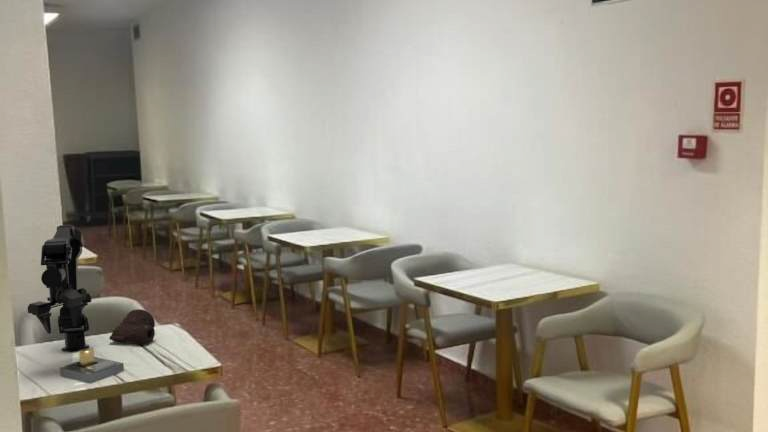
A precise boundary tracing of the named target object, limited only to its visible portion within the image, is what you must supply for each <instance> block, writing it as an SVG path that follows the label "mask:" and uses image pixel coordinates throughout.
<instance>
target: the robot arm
mask: <svg viewBox="0 0 768 432" xmlns="http://www.w3.org/2000/svg"><path fill="white" fill-rule="evenodd" d="M84 247H85V238H84V235H83V231H80V230H78V229H77V228H75V226H74V225H72V224H66V225H65V224H63V225H62V224H61V225H59V226H57V227H56V232H55V234H54V235H53V237H52V238H50V239H47V240H46V241H44V243H43V245H42V246H41V255H40V256H41V259H40V266H46V269H45V270H44V271H43V272H42V274H41V277H40V278H41V283H42V284H43V285H44V286H45V287H46V289H48V290H49V297H46V299H47V302H45V301H35V302H30V303H29V304H28V305H27V313H28V314H31V315H33V316H35V317H36V318H37V319H38V321H39V322H40V323H41V325H42V327H43V328H44V330H45V331H46V333H47V334H51V333H52V326H51V316H52V312H50V311H51V310H52V309H54V308H58V307H60V309H59V315H58V316H57V324H58V325H57V326H58V332H59V334H60V335H61V334H64V345H65V346H64V347H61V351H65V352H66V351H67V352H69V353H70V352H71V353H75V352H79V351H80V350H82V349H87V348H90V346H89V345H86V337H85V332H86V333H87V332H88V331H90V323H89V319H88V317H87V314H86V313H85V309H84V308H86V306H88V305H89V303H91V302H92V296H91V294H90V293H89V292H87V289H86V288H85V287H81V288H79V270H78V269H79V265H78V264H79V263H78V262H79V258H80V257H81V255H82V253H83V248H84Z"/></svg>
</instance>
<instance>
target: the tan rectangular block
mask: <svg viewBox="0 0 768 432" xmlns="http://www.w3.org/2000/svg"><path fill="white" fill-rule="evenodd" d="M78 352H79V361H80V366H81V368H85V367H88V366H91V365H94V364H95V363H94V357H95V353H94V352H95V350H94V348H91V347H88V348H85V349H82V350H79V351H78Z"/></svg>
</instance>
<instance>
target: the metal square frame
mask: <svg viewBox="0 0 768 432" xmlns="http://www.w3.org/2000/svg"><path fill="white" fill-rule="evenodd" d="M94 363H95V364H94V365H91V366H88V367H85V368H81V366H80V360H79V361H76V362H73V363H70V364H67V365H64V366H61V367H59V372H60V373H59V374H60V377H64V378H69V379H72V380H77V381H79V382H80V381H81V382H84V383H89V384H92V383H95V382H97V381H101V380H103V379H106V378H109V377H111V376H114V375H116V374H119V373H123V372H124V371H125V369H124V368H125V367H124V366H125V365H124V362H121V361H114V360H109V359H106V358H101V357H97V356H94Z"/></svg>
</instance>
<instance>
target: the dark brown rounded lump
mask: <svg viewBox="0 0 768 432" xmlns="http://www.w3.org/2000/svg"><path fill="white" fill-rule="evenodd" d="M155 322H156V321H155V319H154V316H153V315H152V314H151V313H150V312H149V311H146V310H145V309H133V310H131V311H129V312H128V313H127V315H125V317H124V318H123V319H122V322H121V323H120V324H119V325H117V326H116V327H115V328H114V330H113V331H112V333H111V334H110V336H109V340H110V341H113V342H114V343H121V344H127V343H129V344H134V345H140V346H141V345H142V346H144V345H148V344H151V343H152V342H153V340H154V337H155V335H156V331H155V326H156V323H155Z"/></svg>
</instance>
